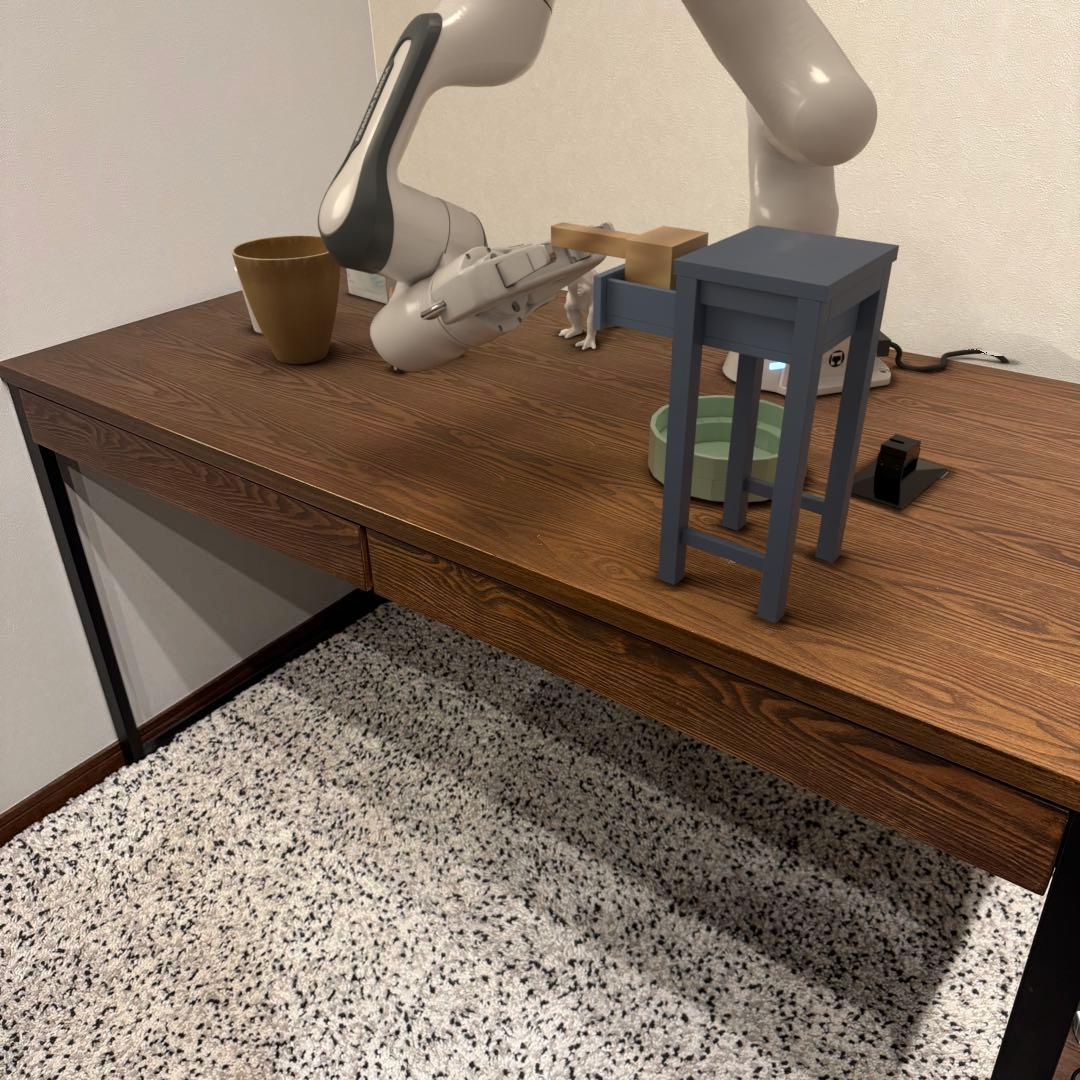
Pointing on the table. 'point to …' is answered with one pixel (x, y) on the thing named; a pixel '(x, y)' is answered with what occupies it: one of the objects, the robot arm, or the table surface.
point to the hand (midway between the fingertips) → (580, 240)
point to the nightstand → (756, 334)
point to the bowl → (719, 445)
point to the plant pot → (291, 293)
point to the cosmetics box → (369, 285)
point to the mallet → (634, 249)
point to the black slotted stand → (896, 474)
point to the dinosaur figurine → (581, 300)
